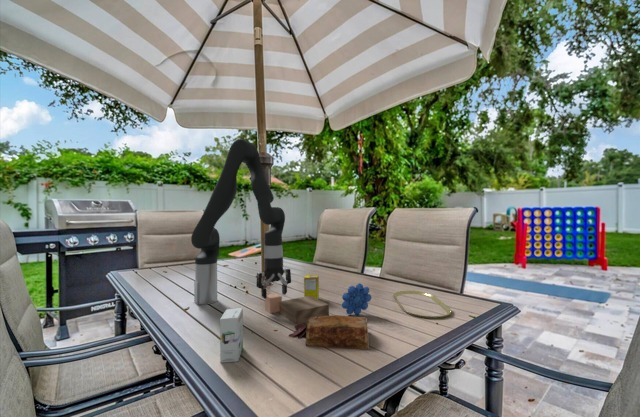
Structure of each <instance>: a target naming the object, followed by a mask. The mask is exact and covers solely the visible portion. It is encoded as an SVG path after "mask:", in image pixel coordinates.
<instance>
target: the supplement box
mask: <svg viewBox="0 0 640 417" xmlns="http://www.w3.org/2000/svg"><path fill="white" fill-rule="evenodd" d="M319 280H320V279H319V274H305V276H304V278H303V282H304V283H303V286H304V287H303V288H304V289H303V290H304V291H303V292H304V295H303V297H307V296H311V297H314V298H316V299H318V300H320V282H319Z"/></svg>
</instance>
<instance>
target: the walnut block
mask: <svg viewBox="0 0 640 417" xmlns="http://www.w3.org/2000/svg"><path fill="white" fill-rule="evenodd" d="M279 303H280V312H279V314H280V315H281V316H283V317H284V318H286V319H288V320H289V321H290V322H292V323H293V324H295V325H297V324H300V323H305V322H308V318H309V317H315V316H330V304H329V303H326V302H324V301H322V300H320V299H316V298H314V297H311V296H307V297H304V296H303V297H297V298H292V299H285V300H282V301H279Z"/></svg>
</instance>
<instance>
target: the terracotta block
mask: <svg viewBox="0 0 640 417" xmlns="http://www.w3.org/2000/svg"><path fill="white" fill-rule="evenodd" d="M279 301H283V298H282V295H280V294H279V293H278V292H277V293H276V292H275V293H271V294H270V293H269V294H267V298H266V299H264V304H265V311H266V312H268V313H269V314H273V313H280V303H279Z"/></svg>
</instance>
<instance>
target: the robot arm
mask: <svg viewBox="0 0 640 417" xmlns="http://www.w3.org/2000/svg"><path fill="white" fill-rule="evenodd" d="M256 146H257V145H255V144H253V143H252V142H249V141H248V140H245V139H243V138H236V139H235V140H234V141H233V142H232V143H231V145H230V147H229V149H228V153H227V155H226V159H225V161H224V165H223V168H222V170H221V173H220V175H219V178H218V180H217V182H216V185H215V186H214V189H213V191H212V193H211V195H210V198H209V200H208V203H207V205H206V207H205V208H204V211H203V213H202V215H201V217H200V219H199V220H198V222H197V224H196V226H195V228H194V229H193V231H192V233H191V237H190V238H191V239H190V240H191V245H192V246H193V247H194V248H195V249H199V250H200V252H199V253H198V255H197V256H196V257H195V259H194V261H195V263H194V266H195V267H194V269H195V270H194V273H195V274H194V276H195V278H194V282H193V283H194V284H193V288H194V292H193V295H194V298H193V299H194V300H193V301H194V302H195V304H196V305H209V304H213V303H216V302H217V301H218V257H219V254H220V243H221V242H220V241H221V240H220V233H219V230H218V229H216V228H215V226H216V225H217V222H218V221H220V220H219V219H221V217H223V215H225V213H226V212H228V210H229V209H230V207H231V206H232V203H233V202H234V200H235V198H236V195H237V191H238V190H237V189H238V179H237V177H238V171H239V169H240V167H241V165H242V163H244V164H245V166H246V167H247V169H248V170H249V173H250V185H251V187H250V188H251V190H252V193H253V196H254V197H255V200H256V203H257V210H258V216H259V218H260V221H261V222H262V223H263V224H264V225H267V226H269V225H270V227H269V230H267V231H265V232H264V248H263V250H264V251H263V252H264V253H263V257H264V258H263V259H264V261H263V262H264V271H263V272H259V271H258V272H256V288H258V289H261V292H260V293H261V297H262V298H263V299H264V300H265V299H266V298H267V295H268V294H267V288H268V286H269V285H270V283H274V282H280V283H281V284H282V285H281V293H282V295H285V296H286V295H287V294H288V285H289V284H291V283H292V276H291V269H290V268H287V267H286V268H284V252H283V251H284V250H283V236H282V235H283V233H284V227H285V222H286V214H285V210H284V209H282V208H281V207H279V206H278V207H277V206H273V207H272V205H271V203H273V201H274V198H275V196H274V194H273V192H272V189H271V188H270V185H269V183H268V181H267V178H266V174H265V172H264V169H263V166H262V162H261V161H262V160H261V158H260V153H259V150H258V147H256ZM284 274H285V278H284V277H283V276H284Z"/></svg>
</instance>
